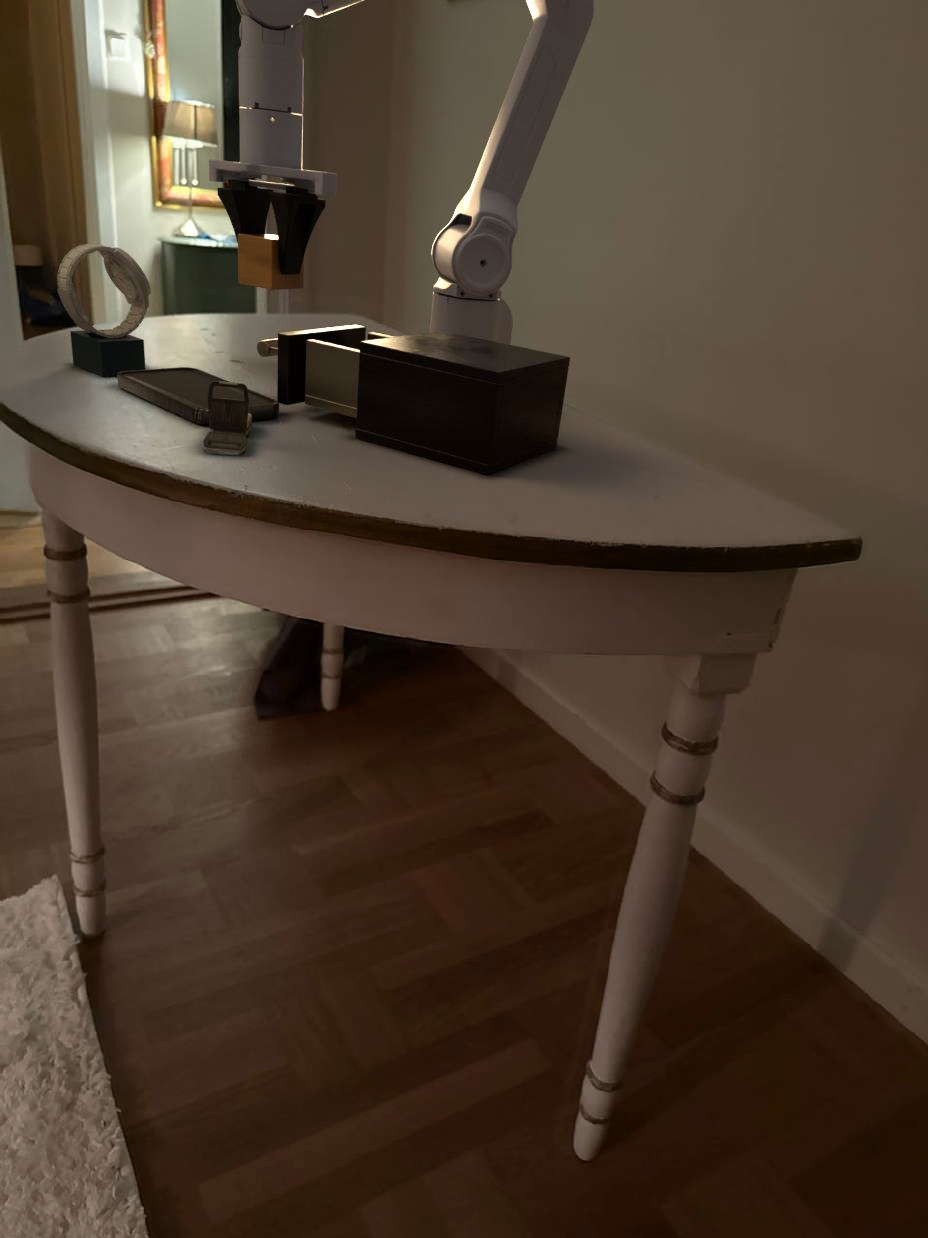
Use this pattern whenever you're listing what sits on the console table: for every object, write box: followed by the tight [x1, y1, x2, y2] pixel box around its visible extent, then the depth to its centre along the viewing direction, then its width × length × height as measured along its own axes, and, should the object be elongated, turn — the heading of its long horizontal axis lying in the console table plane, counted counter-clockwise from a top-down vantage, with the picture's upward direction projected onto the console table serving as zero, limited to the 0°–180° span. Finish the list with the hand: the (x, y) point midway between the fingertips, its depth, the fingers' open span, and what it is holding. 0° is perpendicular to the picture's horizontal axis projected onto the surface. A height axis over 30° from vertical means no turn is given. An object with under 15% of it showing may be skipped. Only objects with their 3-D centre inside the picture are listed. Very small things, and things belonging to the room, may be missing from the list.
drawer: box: [256, 324, 393, 419], centre depth 76 cm, size 16×10×6 cm, turn 58°
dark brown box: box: [355, 331, 571, 476], centre depth 71 cm, size 13×12×8 cm
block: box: [237, 233, 305, 291], centre depth 86 cm, size 4×4×4 cm
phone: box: [116, 366, 280, 426], centre depth 76 cm, size 8×1×15 cm
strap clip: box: [202, 381, 253, 454], centre depth 66 cm, size 8×3×4 cm, turn 8°
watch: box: [56, 243, 152, 378], centre depth 82 cm, size 6×8×11 cm
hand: (271, 270), depth 86 cm, fingers closed on block, 4 cm apart
